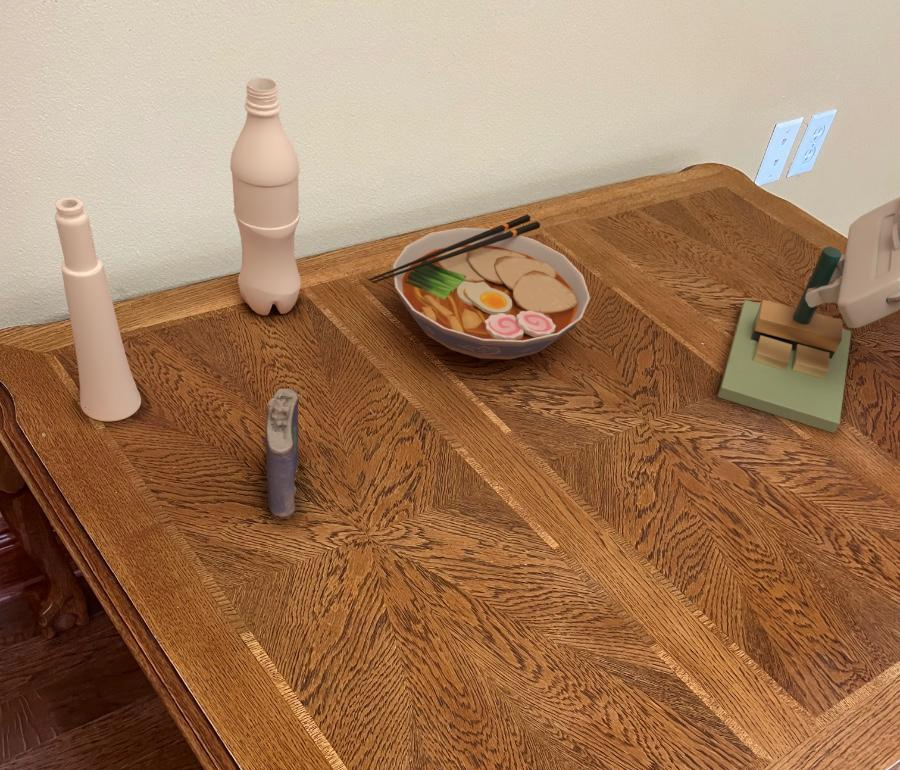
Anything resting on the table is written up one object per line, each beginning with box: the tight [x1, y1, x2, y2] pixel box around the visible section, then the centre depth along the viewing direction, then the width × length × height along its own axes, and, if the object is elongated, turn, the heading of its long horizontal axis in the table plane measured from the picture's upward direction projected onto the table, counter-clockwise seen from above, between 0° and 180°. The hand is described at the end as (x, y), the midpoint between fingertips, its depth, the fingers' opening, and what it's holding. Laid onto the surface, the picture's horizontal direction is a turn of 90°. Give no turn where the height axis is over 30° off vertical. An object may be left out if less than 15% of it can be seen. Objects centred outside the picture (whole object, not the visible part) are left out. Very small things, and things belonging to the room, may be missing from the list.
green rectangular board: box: [717, 299, 852, 434], centre depth 115 cm, size 20×14×2 cm
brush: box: [751, 246, 844, 359], centre depth 112 cm, size 10×4×12 cm, turn 73°
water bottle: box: [229, 76, 302, 316], centre depth 102 cm, size 7×7×25 cm
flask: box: [264, 387, 300, 520], centre depth 89 cm, size 9×3×11 cm, turn 2°
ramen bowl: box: [369, 214, 591, 360], centre depth 110 cm, size 25×23×8 cm
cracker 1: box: [753, 336, 792, 370], centre depth 114 cm, size 4×4×1 cm
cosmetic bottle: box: [54, 196, 142, 422], centre depth 89 cm, size 6×6×22 cm
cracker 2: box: [792, 344, 830, 379], centre depth 114 cm, size 4×4×1 cm
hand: (808, 291), depth 112 cm, fingers closed on brush, 2 cm apart
